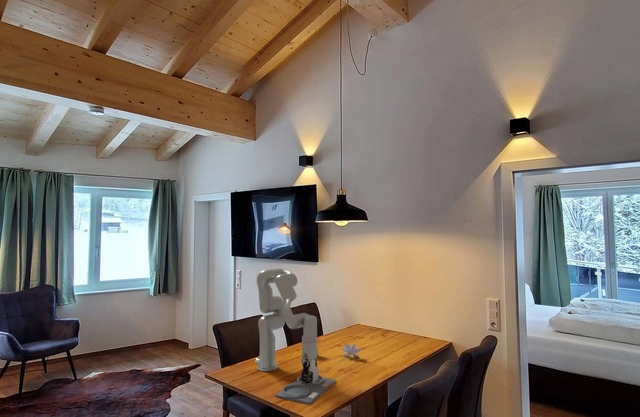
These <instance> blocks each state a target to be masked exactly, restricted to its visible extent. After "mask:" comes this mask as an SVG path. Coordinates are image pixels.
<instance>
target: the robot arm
mask: <svg viewBox="0 0 640 417" xmlns="http://www.w3.org/2000/svg"><path fill="white" fill-rule="evenodd" d="M256 284H257V285H256V286H257V291H258V302H259V303H258V304H259V311H260V312H261V313H262V314H267V315H264V316H262V317H260V318H259V319H258V323H257V325H258V332H259V358H255V361H254V363H255V364H257V366H256V369H257V370H259V371H260V372H272V371H275V370H277V369H278V367H279V365H278V363H276V335H275V334H274V332H273V331H275V330H279V329H282V328H283V327H284V326H285V323H286V325H287V327H288V328H289V329H290V330H297V329H300V328H303V330H302V331H303V333H302V334H303V335H302V337H303V347H302V346H301V359H300V360H301V364H302V369H303V373H305V374H308V373H309V366H308V364H309V362H310V361H312V360H313V359H315V367H318V355H319V350H318V345H317V344H318V318H317V316H315V315H312V314H311V315H310V314H309V313H306V312H302V313H296V314H293V311H292V308H291V304H292V302H294V301H295V300H296V299H297V298H298V297H297V296H298V295H297V292H296V290H295V289H294V287H296V286H297V285H298V277H297V276H296V274H295V273H293V272H291V271H289V270H286V269H284V268H271V269H263V270H261V271H260V272H258V274H257V276H256ZM270 284H275V286H276V288H277V290H278V292H279V294H280V296H279V295H273V288H272V286H271V285H270ZM270 313H272V314H270ZM306 362H307V364H306Z"/></svg>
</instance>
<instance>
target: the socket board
mask: <svg viewBox="0 0 640 417" xmlns="http://www.w3.org/2000/svg"><path fill="white" fill-rule="evenodd" d="M299 381H300V382H301V379H300V380H299ZM320 381H321V379H319V378H318V381H316V382H315V383H317V382H320ZM293 383H297V379H296V380H294V381H293V382H291V383H290V384H293ZM336 383H337V380H336V379H331V378H326V377H323V383H322V384H321V385H319V386H315V387H310V394H309V395H307V396H305V397H302V398H290V397H286V396H285V395H283V389H281V390H280V391H278V392H277V393H276V394H274V396H275V398H280V399H283V400H288V401H293V402H297V403H301V404H304V405H305V404H306V405H312V404H313V403H314V402H315V401H316V400H318V398H319V397H321V396H322V395H323V394H324V393H325V392H327V391H328V390H329V389H330V388H331V387H332V386H334V385H335V384H336ZM284 391H285V392H286V393H289V394H303V393H306V392H307V391H309V390H308V389H307V388H304V387H291V388H287V389H286V390H284Z"/></svg>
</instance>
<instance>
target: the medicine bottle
mask: <svg viewBox="0 0 640 417" xmlns="http://www.w3.org/2000/svg"><path fill="white" fill-rule="evenodd" d="M306 364H307V362H306ZM308 366H309V373H308V374H305V373H303V368H301V374H300V376H301V382H302V383H307V384H310V383H315V382H316V381H318V375H319V367H318V366H317V367H315V359H313V360H312V361H310V362H309V364H308Z"/></svg>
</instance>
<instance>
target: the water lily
mask: <svg viewBox="0 0 640 417" xmlns="http://www.w3.org/2000/svg"><path fill="white" fill-rule="evenodd" d="M340 349H341V350H342V351H343V352H345V353H344V354H343V355H342V356H343V357H348V356H349V357H348V360H349V361H351V356H353V357H355V358H359V357H360V356H359V354H356V353H359V352H360V351H362V349H361V348H358V347H356V343H354V344H352V345H350V344H349V343H348V344H347V343H344V348H343V347H340Z"/></svg>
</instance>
